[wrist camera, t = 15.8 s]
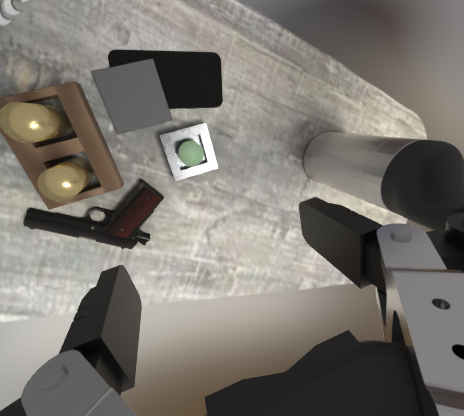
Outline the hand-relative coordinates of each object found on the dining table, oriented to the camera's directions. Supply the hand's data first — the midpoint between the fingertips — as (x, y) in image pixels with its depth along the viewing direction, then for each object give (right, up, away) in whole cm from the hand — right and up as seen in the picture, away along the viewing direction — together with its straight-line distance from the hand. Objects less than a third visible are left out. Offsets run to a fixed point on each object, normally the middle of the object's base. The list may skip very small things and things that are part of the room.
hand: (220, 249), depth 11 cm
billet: (-23, +13, +21) cm, 34 cm away
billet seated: (-22, +7, +24) cm, 33 cm away
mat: (-13, +17, +23) cm, 32 cm away
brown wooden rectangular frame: (-22, +10, +23) cm, 34 cm away
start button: (-6, +10, +26) cm, 29 cm away
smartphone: (-8, +20, +24) cm, 32 cm away
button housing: (-6, +11, +27) cm, 30 cm away
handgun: (-20, +2, +27) cm, 34 cm away
